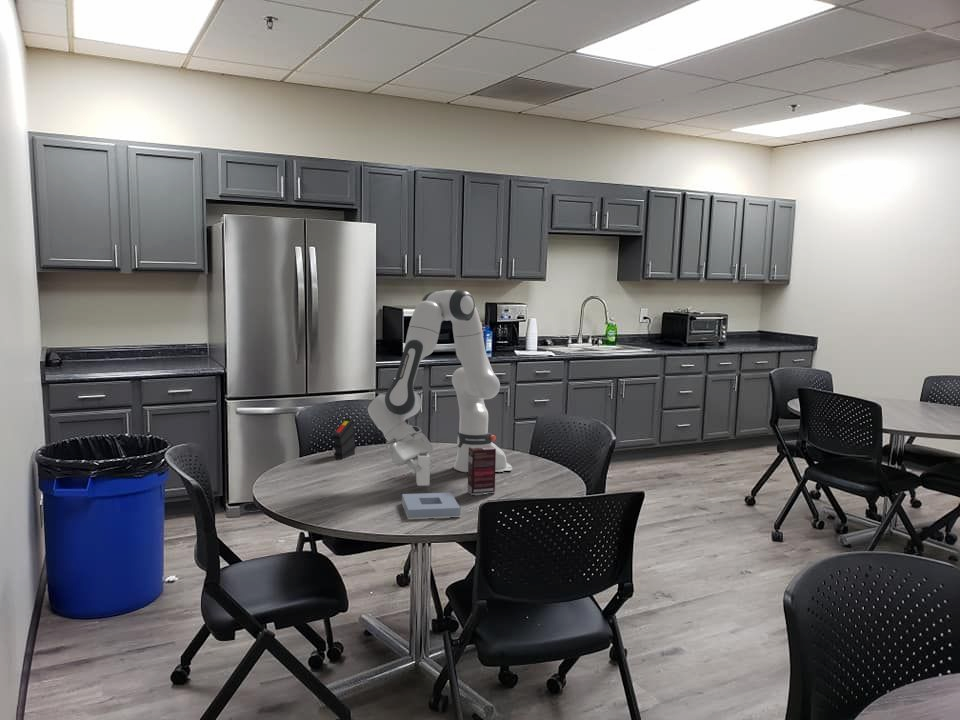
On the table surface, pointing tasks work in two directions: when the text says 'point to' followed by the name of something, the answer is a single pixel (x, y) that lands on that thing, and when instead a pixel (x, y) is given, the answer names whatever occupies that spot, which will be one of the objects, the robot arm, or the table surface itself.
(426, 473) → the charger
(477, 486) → the supplement box
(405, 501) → the blue-gray square socket base
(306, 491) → the table surface
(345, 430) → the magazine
